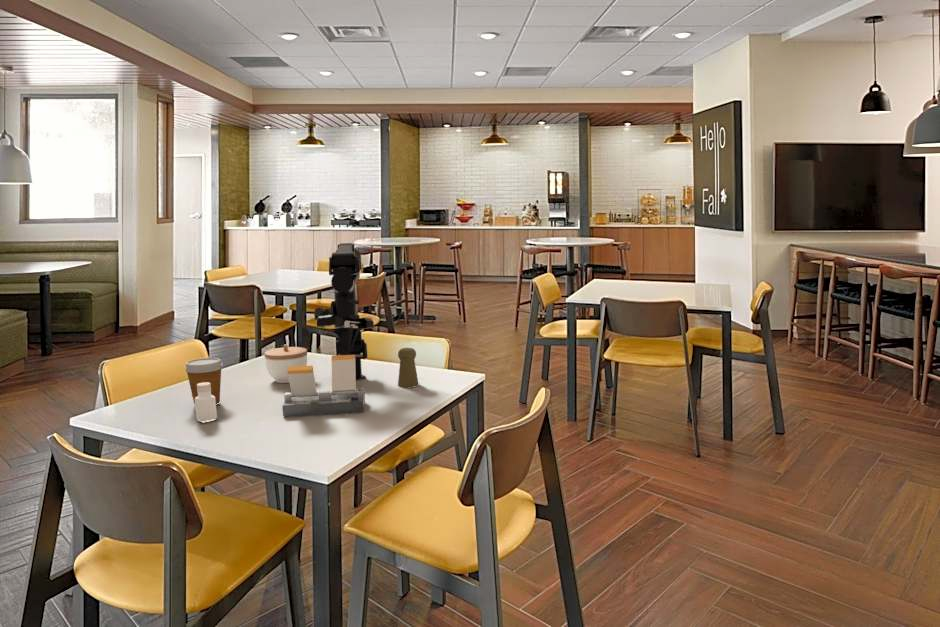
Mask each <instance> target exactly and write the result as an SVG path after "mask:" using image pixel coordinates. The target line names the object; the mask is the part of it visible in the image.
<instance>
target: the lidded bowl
mask: <svg viewBox="0 0 940 627" xmlns="http://www.w3.org/2000/svg"><path fill="white" fill-rule="evenodd" d="M264 359H265V360H264V361H265V367H266V370H267V373H268V375H269V376H270V377H271V378H272V379H273V380H275V382H276V383H279V384H290V382H289V377H288V372H287V369H288V367H292V366H308V349H307V348H306V347H300V346H289V345H288V344H283V346H282V347H275V348H272V349H268V350H266V351H264Z"/></svg>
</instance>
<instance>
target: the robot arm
mask: <svg viewBox="0 0 940 627" xmlns="http://www.w3.org/2000/svg"><path fill="white" fill-rule="evenodd" d="M355 247H356V246H355V243H351V242H347V243H345V242H344V243H339V244H337V250H336V251H335V252H332V253H331V256H329V257H328V258H329V260H328V264H329V265H328V275H329V276H332V277H331V281H330V284H331V287H332V288H333V290H334V294H333V296H334V300H332V301H331V302H330V307H328V308H325V309H324V308H323V307H316V308H315V309H314V320H315V321H316V328H325V327H331V326H334V328H330V329H329V330H330V331H331V332H333V333H335V335H337V339H338V340H335V350H336V351H335V352H336V355H355V369H356V381H357V380H362V379H363V380H364V379H366V378H367V376H366V375H364V374H362V360H365V359H367V358H368V347H367V346H368V344H367V342H365V339H364V338H363V337H362V336H363V335H362V331H363V330H364V329H374V327H375V326H374V325H375V324H374V320H373V319H372V318H369V317H360V314H359V315H357V306H358V305H359V304H360V301H359V300H357V298H356V297H357V294H356V284H357V282H358V281H359V279H360V278H361V273H360V272H361V271H362V270H363V269H362V267H363V264H362V253H361V252H360V251H359V250H358V249H357V248H355Z"/></svg>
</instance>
